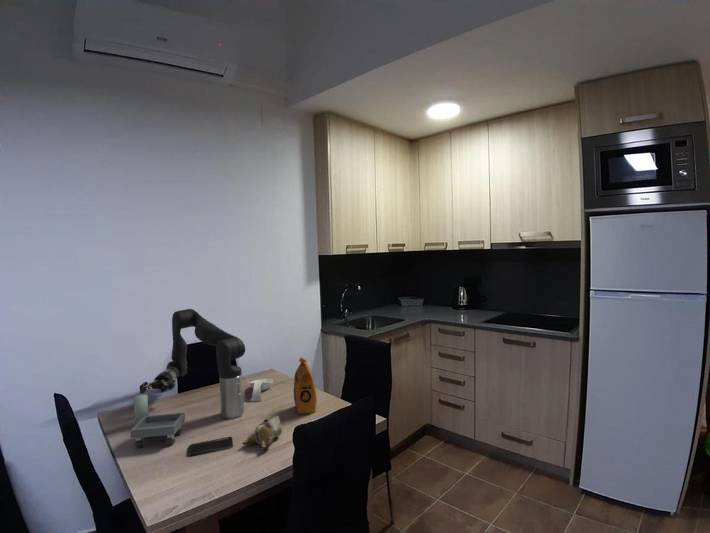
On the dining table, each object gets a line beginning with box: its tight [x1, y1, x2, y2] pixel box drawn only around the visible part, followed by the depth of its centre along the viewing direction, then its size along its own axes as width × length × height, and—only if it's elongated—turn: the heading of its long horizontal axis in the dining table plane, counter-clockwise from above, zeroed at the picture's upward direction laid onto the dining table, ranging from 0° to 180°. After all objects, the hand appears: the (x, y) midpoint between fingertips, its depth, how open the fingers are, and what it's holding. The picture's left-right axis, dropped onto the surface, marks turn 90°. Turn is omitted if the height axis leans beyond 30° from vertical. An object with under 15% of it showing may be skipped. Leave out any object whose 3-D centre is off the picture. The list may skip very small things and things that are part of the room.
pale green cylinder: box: [133, 393, 150, 426], centre depth 155 cm, size 5×5×12 cm
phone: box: [187, 436, 234, 457], centre depth 135 cm, size 8×1×15 cm
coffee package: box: [293, 357, 318, 415], centre depth 166 cm, size 10×12×22 cm
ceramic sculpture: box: [241, 415, 283, 450], centre depth 137 cm, size 11×9×15 cm
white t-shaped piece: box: [249, 378, 274, 402], centre depth 188 cm, size 24×12×7 cm, turn 8°
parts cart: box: [129, 412, 186, 449], centre depth 141 cm, size 15×12×8 cm
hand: (151, 391), depth 167 cm, fingers open, 8 cm apart
